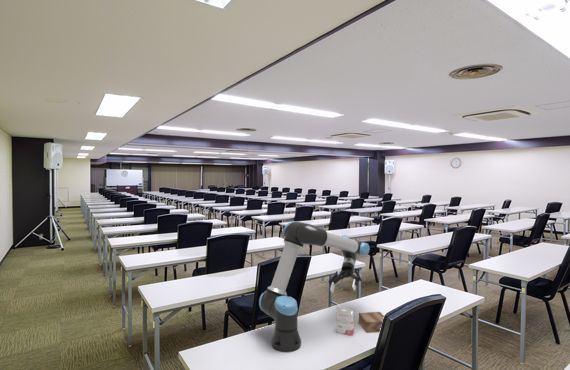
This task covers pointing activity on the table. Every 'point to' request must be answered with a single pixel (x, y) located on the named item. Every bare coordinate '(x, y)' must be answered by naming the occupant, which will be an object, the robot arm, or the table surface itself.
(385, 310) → the table surface
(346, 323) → the ink cartridge box
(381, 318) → the walnut block
